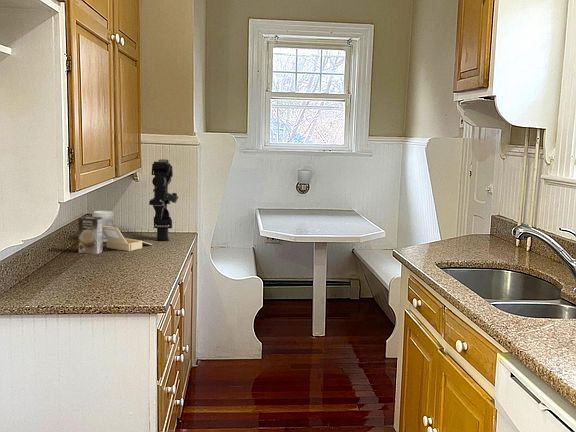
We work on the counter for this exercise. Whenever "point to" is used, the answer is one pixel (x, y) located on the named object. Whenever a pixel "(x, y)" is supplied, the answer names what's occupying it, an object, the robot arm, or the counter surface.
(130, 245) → the carton
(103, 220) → the supplement tub
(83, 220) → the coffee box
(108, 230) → the flap
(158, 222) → the robot arm
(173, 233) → the counter surface
